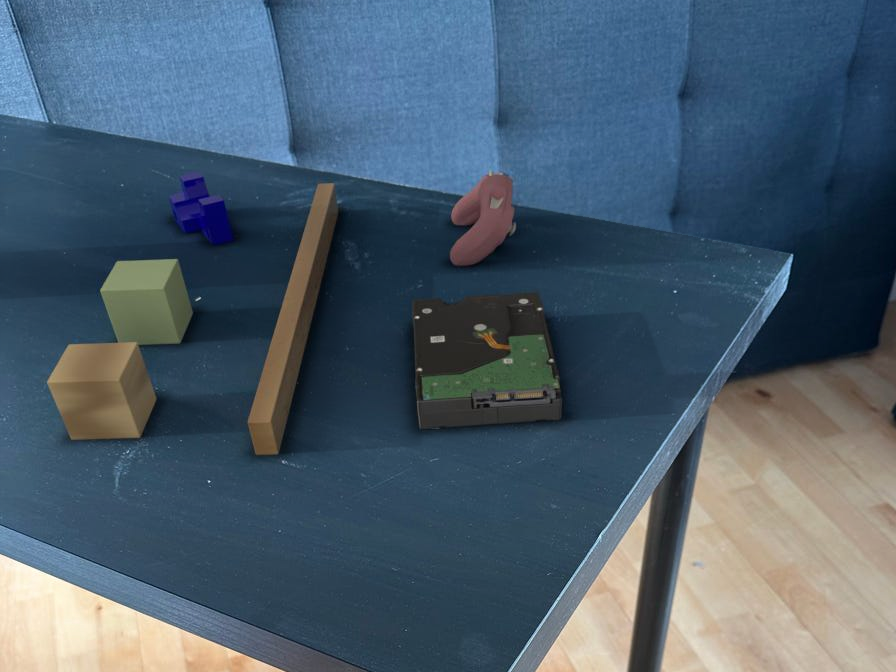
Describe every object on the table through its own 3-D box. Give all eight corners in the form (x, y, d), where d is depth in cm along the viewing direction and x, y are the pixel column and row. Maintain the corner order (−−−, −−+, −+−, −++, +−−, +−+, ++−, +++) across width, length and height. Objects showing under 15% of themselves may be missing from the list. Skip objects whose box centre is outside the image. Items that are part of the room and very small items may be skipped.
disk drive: (412, 332, 76) (419, 434, 66) (409, 299, 74) (416, 400, 64) (538, 322, 76) (565, 423, 66) (539, 289, 74) (566, 388, 64)
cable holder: (175, 221, 92) (163, 179, 89) (209, 213, 93) (199, 171, 90) (198, 252, 87) (186, 209, 84) (234, 243, 88) (223, 200, 85)
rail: (256, 458, 65) (247, 422, 63) (322, 215, 92) (317, 183, 90) (279, 458, 65) (270, 421, 63) (339, 214, 92) (334, 182, 90)
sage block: (120, 349, 76) (99, 290, 72) (135, 318, 79) (116, 260, 75) (181, 347, 76) (163, 288, 72) (194, 316, 79) (178, 258, 75)
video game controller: (492, 285, 84) (527, 213, 79) (445, 265, 82) (478, 190, 78) (491, 237, 91) (523, 168, 86) (447, 217, 89) (478, 146, 85)
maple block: (72, 443, 67) (46, 382, 63) (92, 404, 70) (68, 343, 67) (141, 441, 67) (119, 379, 63) (158, 402, 70) (137, 341, 66)
